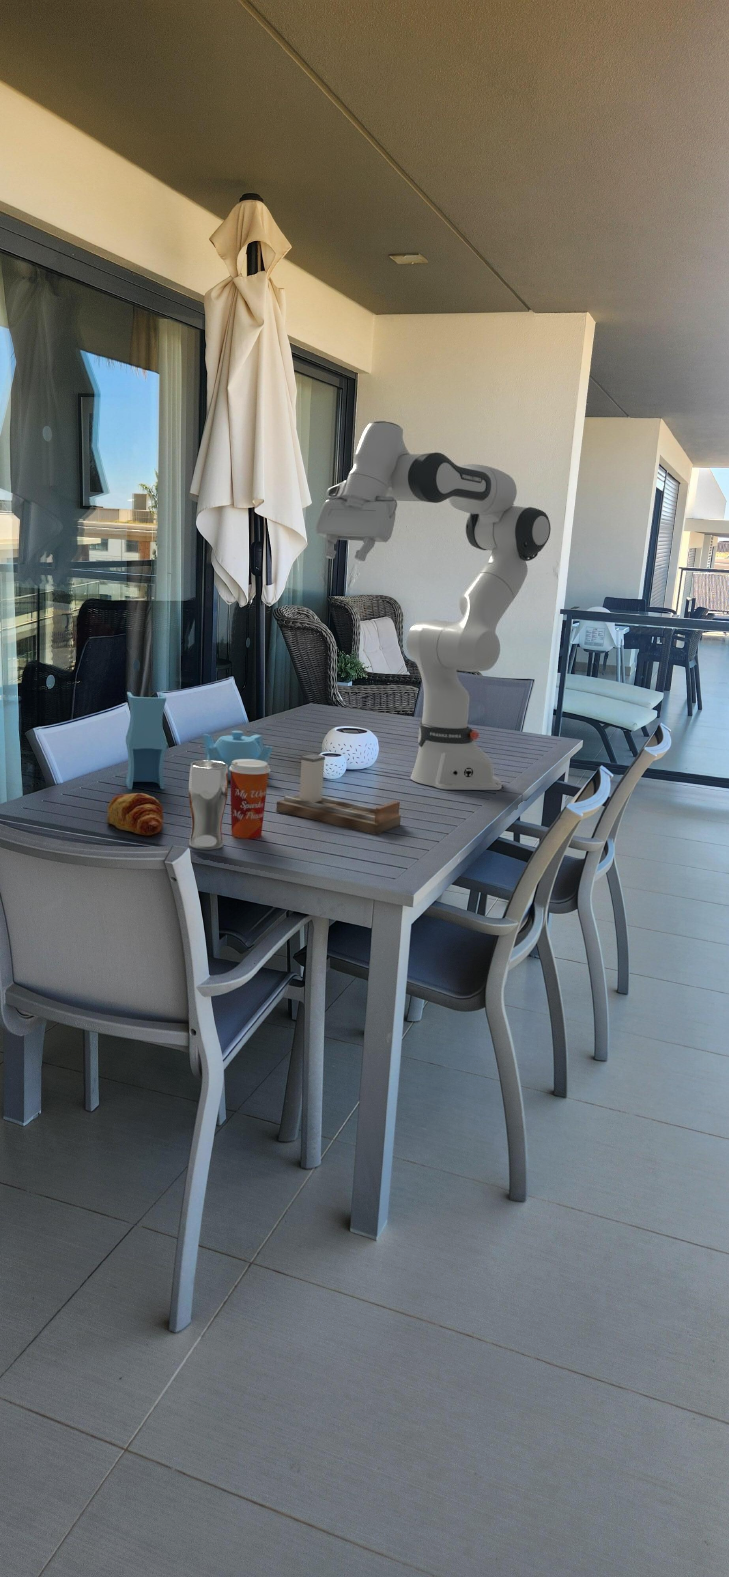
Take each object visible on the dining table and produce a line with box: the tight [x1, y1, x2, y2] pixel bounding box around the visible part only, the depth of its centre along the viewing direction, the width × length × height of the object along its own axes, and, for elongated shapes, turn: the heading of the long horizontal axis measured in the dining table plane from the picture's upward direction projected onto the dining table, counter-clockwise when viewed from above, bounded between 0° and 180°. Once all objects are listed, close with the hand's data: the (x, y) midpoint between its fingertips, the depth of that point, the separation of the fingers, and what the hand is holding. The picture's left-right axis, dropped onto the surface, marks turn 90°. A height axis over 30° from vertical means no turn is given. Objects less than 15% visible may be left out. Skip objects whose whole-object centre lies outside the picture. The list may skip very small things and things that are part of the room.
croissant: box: [107, 792, 164, 836], centre depth 188 cm, size 21×10×8 cm, turn 33°
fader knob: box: [298, 753, 326, 803], centre depth 207 cm, size 3×4×9 cm
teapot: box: [202, 730, 274, 782], centre depth 234 cm, size 15×15×11 cm
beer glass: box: [188, 759, 229, 851], centre depth 178 cm, size 7×7×15 cm
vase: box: [125, 691, 167, 790], centre depth 218 cm, size 8×8×20 cm
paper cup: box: [229, 759, 272, 840], centre depth 186 cm, size 8×8×14 cm
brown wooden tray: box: [276, 794, 402, 835], centre depth 205 cm, size 24×10×5 cm, turn 59°
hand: (343, 558), depth 209 cm, fingers open, 8 cm apart
